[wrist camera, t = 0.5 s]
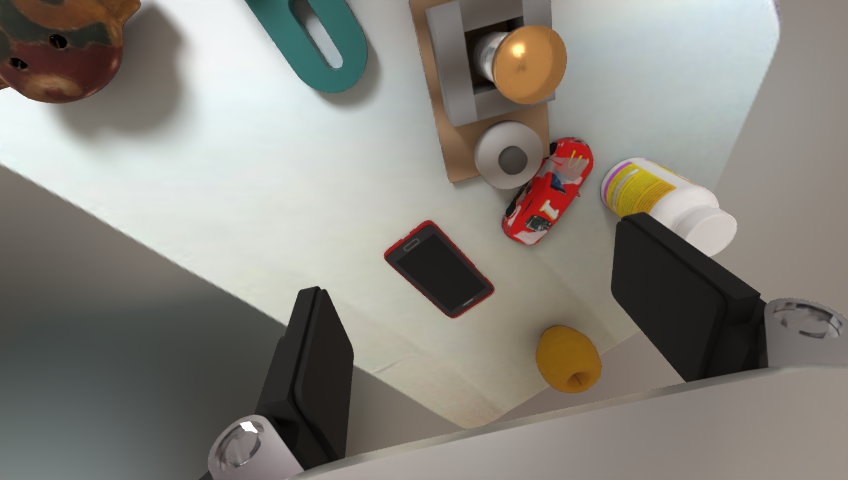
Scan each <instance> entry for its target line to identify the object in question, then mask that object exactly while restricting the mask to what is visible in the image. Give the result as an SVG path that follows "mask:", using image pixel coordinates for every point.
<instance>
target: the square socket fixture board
mask: <svg viewBox="0 0 848 480" xmlns="http://www.w3.org/2000/svg"><path fill="white" fill-rule="evenodd" d="M409 4H410V9H411V13H412V18H413V22H414V27H415V31H416V36H417V40H418V45H419V49H420V54H421V58H422V63H423V67H424V72H425V76H426V81H427V85H428V90H429V94H430V99H431V103H432V108H433V112H434V117H435V121H436V126H437V130H438V135H439V139H440V144H441V148H442V153H443V158H444V162H445V167H446V171H447V176H448V179H449V181H450V183H453V182H457V181H461V180H464V179H468V178H472V177H476V176H479V175H482V177H483V178H484V179H485V181H486V182H487V183H488V184H490V185H491V186H493V187H496V188H499V189H513V188H516V187H519V186H521V185H523V184H525V183H526V182H528V181H529V180H530V179H531V178H532V177H533V176H534V175H535V174H536V172H537V171H538V169H539V167H540V165H541V163H542V159H543V158H546V157H550V148H549V131H548V113H547V102H548V101H552V100H555V90H554V91H553V92H552V93H551V94H550V95H549V96H547V97H546V98H545V99H543V100H541V101H539V102H536V103H532V104H519V103H516V102H513V101H512V100H510V99H508V98H507V97H505V96H504V95H502V94H501V93H500V92H499V91H498V89H497V88H496V86H495V84H494V82H492V81H490V80H488V79H486V78H484V77H482V76H480V75H478V74H476V73H475V72H473V71H472V70H471V69H470V68H469V63H468V56H467V50H466V46H467V43H468V42H469V40H470V39H471V38H472V37H473V36H474V35H475V34H477V33H478V32H482V31H494V32H511V31H513V30H515V29H517V28H519V27H522V26H527V25H540V26H545V27H548V28H550V29H552V19H551V0H409Z"/></svg>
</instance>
